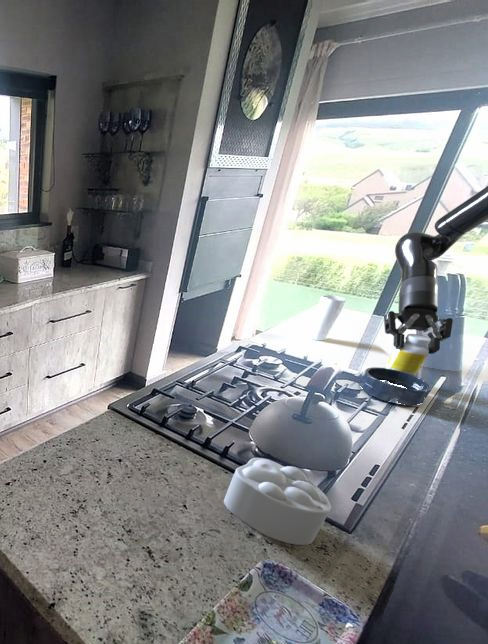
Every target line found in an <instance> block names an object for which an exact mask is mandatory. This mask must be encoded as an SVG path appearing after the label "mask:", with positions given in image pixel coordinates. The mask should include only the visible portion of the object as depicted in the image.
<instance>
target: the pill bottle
mask: <svg viewBox="0 0 488 644" xmlns="http://www.w3.org/2000/svg"><path fill="white" fill-rule="evenodd" d="M430 341H431V339H430V338H428V337H427V336H426V335H423V334H418V333H408V334H407V335H406V336H405V338H404V347H403V348H401V349H396V347H394V350H393V352H392V354H391V356H390V358H389V359H388V361H387V363H386V365H385V367H384V368H388V369H393V370H398V371H402V372H405V373H408V374H411V375H414V376H417V374H418V372H419V370H420V369H421V367H422V365H423V363H424V362H425V360H426V358H427V357H428V356H429V349H428V344H429V343H430Z"/></svg>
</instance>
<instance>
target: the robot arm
mask: <svg viewBox="0 0 488 644" xmlns="http://www.w3.org/2000/svg"><path fill="white" fill-rule="evenodd" d="M487 221H488V185H487V186H485V187H484V188H482V189H480V191H478V192H477V193H475V194H474V195H472V196H471V197H469V198H467V199H466V200H465V201H463V202H462V203H461V204H459V205H457V206H456V207H454V208H453V209H452V210H450V211H448V212H447V213H446V214H444V215H443V216H441V217H440V218H439V219H437V220H436V222H435V223H434V229H435V232H436V233H437V234H436V235H432V234H429V233H426V232H421V231H410V232H407V233H405V234H403V235H401V236H400V238H399V239H398V241H397V242H396V244H395V247H394V254H395V259H396V261H397V264H398V266H399V269H400V271H401V276H400V277H401V281H400V287H399V291H398V292H399V293H398V312H395V311H393V310H389V312H387V313H386V314H384V315H383V323H384V333H385V334H386V335H392V336H393V343H392V345H393V347H394V348H396V349H401V348H403V347H404V342H405V334H404V333H405V332H406V330H410V331H412V330H413V331H414V330H415V331H419V332H421V333H422V335H423V336H426V337H428V338H430V339H431V341H430V343H429V344H428V345H427V348H428V349H429V353H428V355H429V354H430V355H433V354H436V353H437V352H439V351H440V349H441V342H443V341H445V340H446V339H449V338H450V337H451V336H452V329H453V322H454V319H453V318H451V317H447V318H442V317H439V315H438V309H439V284H438V265H437V263H436V262H435V260H436V259H439V258H440V257H441V256H443V255H444V254H445V253H446V252H447V251H448V250H449V249H450V248H451V247H452V246H454V245H455V243H457V242H458V241H459V240H460V239H461V238H462V237H463V236H464V235H465V234H467V233H470V232H471V231H472V230H475V229H476V228H478V227H480V226H481V225H482V224H484V223H486V222H487ZM436 275H437V276H436ZM396 320H398V321H399V322H400V325H399V326H398V327H397V324H396Z"/></svg>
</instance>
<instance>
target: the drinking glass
mask: <svg viewBox="0 0 488 644" xmlns="http://www.w3.org/2000/svg"><path fill="white" fill-rule="evenodd" d="M345 303H346V298H345V297H342V296H339V295H333V294H331V295H330V294H323V295H321V296H320V298H319V301H318V303H317V305H316V309H315V311H314V314H313V318H312V321H311V323H310V324H311V325H310V327H309V331H308V332H307V338H309V339H311V340H314V341H322V342H323V341H326V339H327V337H328V335H329V334H330V331H331V330H332V328H333V326H334V324H335V323H336V321H337V319H338V317H339V316H340V314H341V313H342V310H343V309H344V306H345Z"/></svg>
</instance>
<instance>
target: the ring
mask: <svg viewBox="0 0 488 644" xmlns="http://www.w3.org/2000/svg"><path fill="white" fill-rule="evenodd" d="M360 379H361V380H360ZM360 379H359V381H360V383H359V382H358V383H359V386H361V387H362V388H363V390H364V391H365V392H364V391H363V390H362V391H363V392H364V393H365V394H367V395H369V396H371V397H373V396H374V397H373V398H375V397H376V398H375V399H377V398H378V399H377V400H380V399H381V400H380V401H383V400H384V401H383V402H386V401H387V403H389V402H388V401H390V400H391V399H393V398H397V399H398V400H397V401H398V403H401V404H405V405H404V406H406V405H417V404H420V403H423V402H424V403H425V401H426V400H427V398H428V397H429V395H430V393H431V391H432V390H433V386H432V384H431V383H429V381H427V380H425V379H423V378H422V377H419V376H417V375H415V376H414V375H411V374H408V373H405V372H402V371H398V370H393V369H388V368H385V367H379V366H378V367H375V366H373V367H367V368H366V369H365V370H364V372H363V373H362V376H361V378H360ZM380 380H387V381H389V382H390V383H393V384H397V385H402V386H404V387H406V388H407V389H406V388H401V387H397V386H394V385H390V384H387V383H384V382H382V381H380ZM359 386H358V387H359ZM424 403H423V404H424Z"/></svg>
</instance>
